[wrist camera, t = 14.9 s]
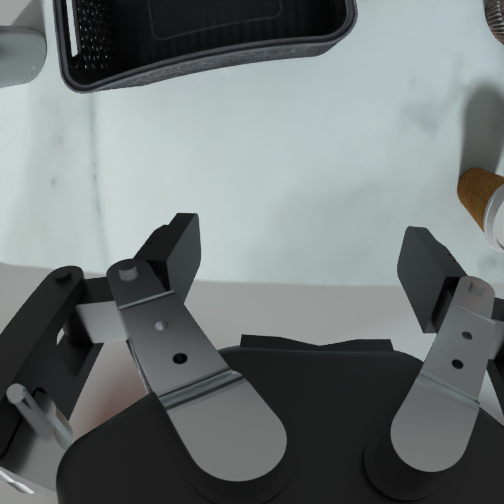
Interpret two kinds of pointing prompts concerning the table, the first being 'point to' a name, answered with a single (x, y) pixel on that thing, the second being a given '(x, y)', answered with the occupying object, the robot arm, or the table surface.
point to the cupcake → (496, 18)
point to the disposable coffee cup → (485, 203)
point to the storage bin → (189, 37)
